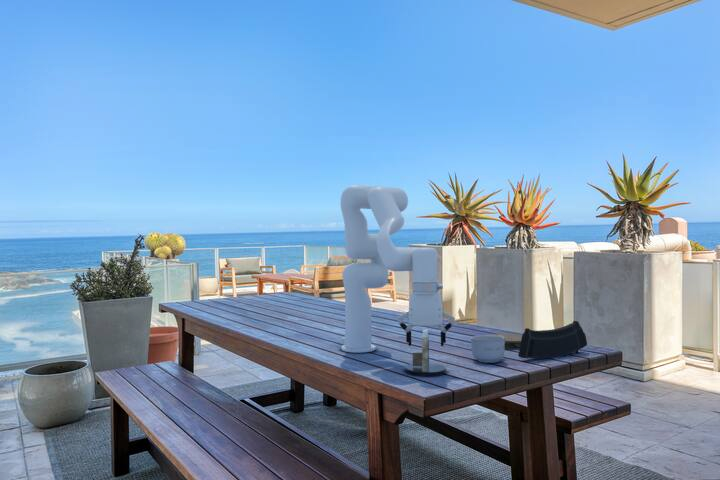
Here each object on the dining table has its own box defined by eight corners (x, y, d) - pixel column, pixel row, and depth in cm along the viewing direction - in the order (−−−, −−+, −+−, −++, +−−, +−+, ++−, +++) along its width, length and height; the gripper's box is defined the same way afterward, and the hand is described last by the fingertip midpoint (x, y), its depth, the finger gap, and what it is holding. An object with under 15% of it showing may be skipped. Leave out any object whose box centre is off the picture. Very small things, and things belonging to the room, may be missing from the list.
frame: (411, 371, 145) (411, 337, 145) (413, 360, 159) (413, 329, 159) (428, 372, 144) (428, 337, 144) (429, 361, 158) (428, 329, 158)
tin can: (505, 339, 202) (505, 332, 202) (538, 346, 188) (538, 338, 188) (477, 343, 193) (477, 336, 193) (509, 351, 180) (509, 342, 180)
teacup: (486, 366, 157) (486, 340, 157) (463, 359, 166) (463, 335, 167) (519, 361, 163) (519, 337, 163) (495, 355, 173) (495, 332, 173)
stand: (397, 370, 152) (397, 366, 152) (425, 364, 160) (425, 361, 160) (425, 378, 143) (425, 374, 143) (454, 372, 150) (454, 368, 150)
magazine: (519, 335, 161) (579, 302, 175) (512, 333, 164) (571, 301, 178) (531, 384, 163) (589, 348, 177) (523, 381, 166) (581, 346, 180)
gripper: (453, 287, 154) (454, 343, 153) (397, 287, 156) (398, 342, 156) (454, 289, 146) (455, 348, 146) (395, 289, 149) (396, 347, 148)
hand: (426, 345), depth 151 cm, fingers open, 9 cm apart
